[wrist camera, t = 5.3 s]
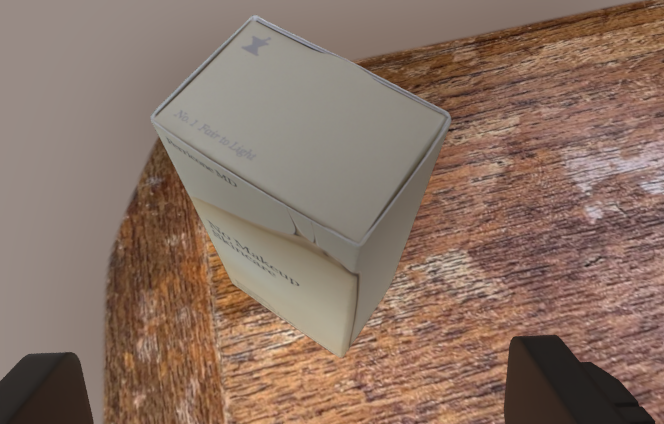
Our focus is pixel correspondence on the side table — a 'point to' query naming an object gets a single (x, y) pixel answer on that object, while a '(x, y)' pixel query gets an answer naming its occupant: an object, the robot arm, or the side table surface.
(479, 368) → the side table surface
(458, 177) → the side table surface
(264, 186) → the cosmetic box
